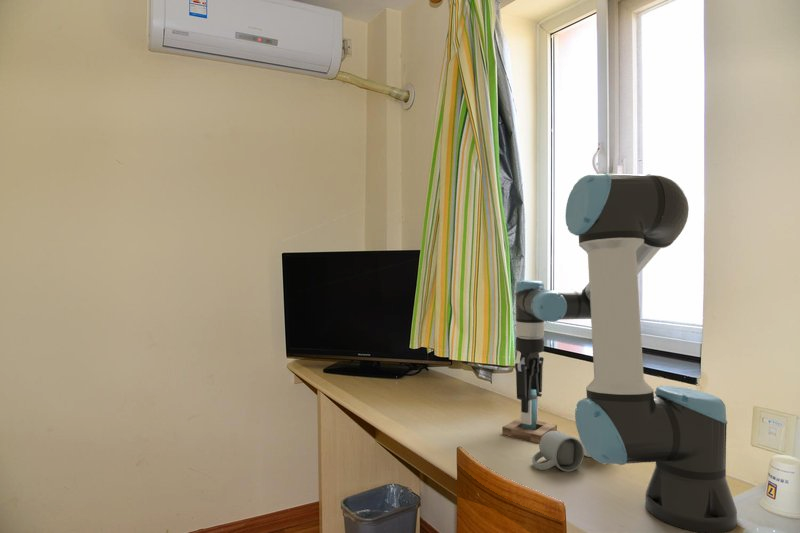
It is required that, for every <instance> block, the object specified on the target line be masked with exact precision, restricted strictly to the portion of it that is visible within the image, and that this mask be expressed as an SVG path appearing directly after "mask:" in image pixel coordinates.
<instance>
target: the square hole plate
mask: <svg viewBox="0 0 800 533" xmlns="http://www.w3.org/2000/svg"><path fill="white" fill-rule="evenodd" d="M501 431H502V432H501V433H502V436H503V435H504V436H508V437H512V438H517V439H521V440H525V441H531V442H534V443H537V444H539V443H540V440H541V438H542V436H543V435H544V434H545V433H547V432H549V431H558V425H557V424H555V423H550V422H545V421H540V420H538V421H536V430H535V431H534V430H530V429H525V428H523V423H521V416H519V417H518V418H516V419H515V420H512V421H511V422H508V423H507V424H505V425H503V426H502V430H501Z"/></svg>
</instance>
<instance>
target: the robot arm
mask: <svg viewBox="0 0 800 533" xmlns="http://www.w3.org/2000/svg"><path fill="white" fill-rule="evenodd" d="M688 219H689V202H688V198H687V195H686V193H685V192H684V190H683V188H682V187H681V186H680V185H679V184H678V183H677V182H676V181H674V180H672V178H669V177H668V176H663V175H661V174H653V173H649V174H636V173H635V174H633V173H611V172H610V173H608V172H603V173H594V174H593V173H592V174H591V173H590V174H586V175H583V176H582V177H580V178H579V179H578V180H577V181H576V182H575V183H574V185H573V186H572V188H571V191H570V193H569V194H568V198H567V202H566V207H565V225H566V227H567V231H568V232H569V233H570V234H572V235H574V236H577V237H578V246H579V247H580V248H581V249H582V250H583V251H585V253H586V254H587V263H588V264H587V268H588V283H587V284H586V285H585V287H584V288H583V289H560V290H559V289H552V290H550V289H545V283H544V282H543V281H541V280H519V281H517V282H516V283H515V284H516V285H515V293H514V295H515V324H514V327H515V335H516V338H515V350H516V351H517V352H519V353H520V356H519V363H516V362H515V364H514V369H515V381H516V384H515V385H516V399H517V400H520V417H521V423H523V424H528V425H531V404H532V400H530V391H531V388H532V389H536V393H537V398H536V421H539V398H541V397H542V396H543V394H542V391H543V368H544V367H543V366H544V361H545V360H544V359H545V358H544V357H543V356H540V353H543V352H544V350H545V346H544V345H545V339H544V338H543V337H544V336H545V322H546V323H547V322H553V323H554V322H557V321H560V320H562V321H563V320H590V322H591V325H590V326H591V341H592V359H593V360H592V361H593V362H592V364H593V379H592V381H591V382H590V383H589V384H588V385H587V386H586V397H584V398H582V399H580V400H579V401H578V402H577V403H576V408H575V412H574V418H575V426H576V429H577V433H578V437H580V439H581V442H582V444H583V445H584V447H585V449H586V451H587V452H588V453H589V455H590V456H591V457H592V459H593V460H594V461H596V462H598V463H600V464H604V465H610V464H611V465H619V466H624V465H626V464H639V463H640V464H642V463H655V466H654V467H655V468H654V469H653V472H652V475H651V477H650V479H649V482H648V486H647V489H646V490H645V495H644V496H645V501H644V503H645V507H646V509H647V510H648V512H649V513H650V514H651V515H653V516H654V517H656V518H657V519H658V520H660V521H662V522H664V523H667V524H669V525H671V526H673V527H677V528H680V529H683V530H688V531H693V532H698V533H724V532H728V531H731V530H734V528H736V526H737V525H738V523H737V522H738V510H737V507H736V505H735V502H734V498H733V496H732V495H733V494H732V492H731V490H730V487H729V484H728V481H727V474H726V473H727V472H726V471H727V427H728V426H727V425H728V420H727V409H726V404H725V402H724V401H723V400H722V399H720V397H717V396H715V395H713V394H710V393H708V392H704V391H701V390H697V389H691V388H688V387H687V388H686V387H681V386H673V385H660V386H657V387H656V389H655V391H654V388H653V387H652V386H650V385H649V384H648V383H647V382H646V380H645V379H644V378H645V377H644V362H643V347H642V345H643V344H642V331H641V329H642V328H641V313H640V312H641V311H640V310H641V308H640V298H639V296H640V295H639V293H640V292H639V281H638V278H639V277H638V275H639V274H640V272H642V270H643V269H644V268H645V267H646V266H647V264H649V263H650V262H651V260H652V259H653V258H654V256H656V255H657V253H658V252H659V251H660V250H661V249H664V248H669V247H670V246H671V245H672V244H673V243H674V242H675V240H677V238H678V237H679V236H680V235H681V234H682V232H683V231H684V228H685V226H686V224H687V222H688ZM591 457H590V458H591Z"/></svg>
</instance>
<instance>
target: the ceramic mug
mask: <svg viewBox="0 0 800 533" xmlns="http://www.w3.org/2000/svg"><path fill="white" fill-rule="evenodd" d="M538 444H539V445H538V448H539V451H538V452H536V453H535V454H534V455H533V456H532V457H531V462H532V465H533V466H534V468H535V469H536V470H539V471H544V470H548V469H551V468H553V467H554V466H555V467H556V468H558V469H560V470H561V471H563V472H565V473H568V472H573V471H575V470H577V469H578V468H579V467H580V466H581V465H582V463H583V460H584V456H585V455H584V449H583V446H582V444H581V442H580V440H579V439H578V438H576V437H574V436H571V435H570V434H569V435H568V434H566V433H564V432H561V431H558V430H557V431H549V432H547V433H545V434H544V435H543V436H542V438H541V440H540V443H538ZM542 458H544V459H545V460H546V461H545V462H542V463H537V462H538V460H540V459H542Z"/></svg>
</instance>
